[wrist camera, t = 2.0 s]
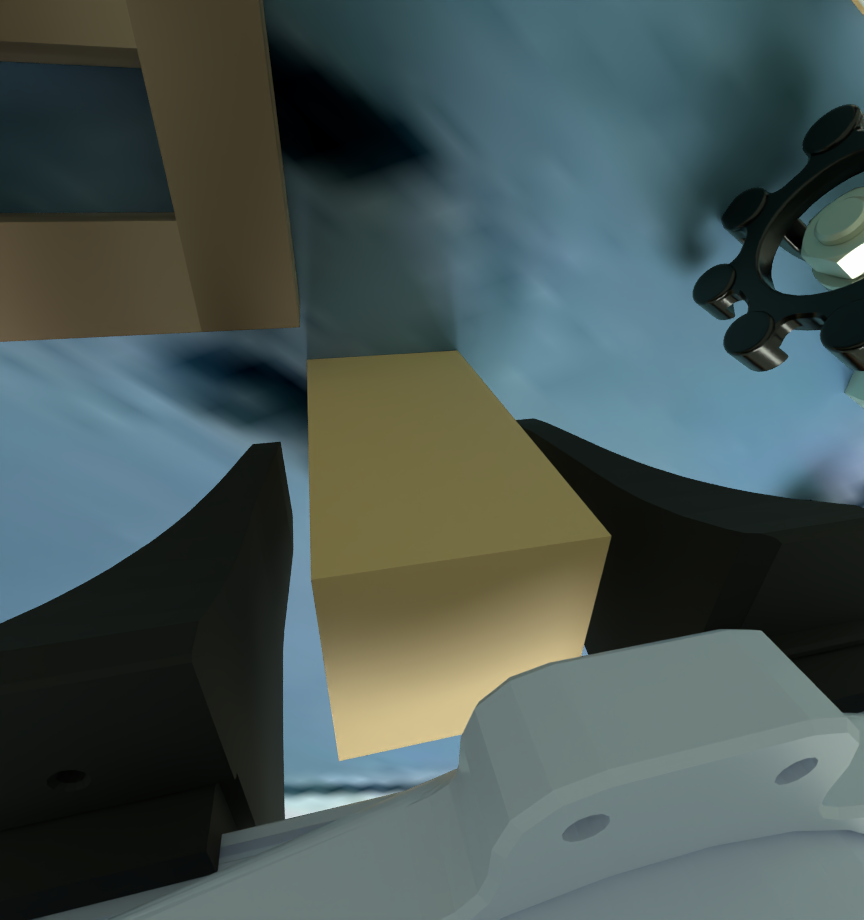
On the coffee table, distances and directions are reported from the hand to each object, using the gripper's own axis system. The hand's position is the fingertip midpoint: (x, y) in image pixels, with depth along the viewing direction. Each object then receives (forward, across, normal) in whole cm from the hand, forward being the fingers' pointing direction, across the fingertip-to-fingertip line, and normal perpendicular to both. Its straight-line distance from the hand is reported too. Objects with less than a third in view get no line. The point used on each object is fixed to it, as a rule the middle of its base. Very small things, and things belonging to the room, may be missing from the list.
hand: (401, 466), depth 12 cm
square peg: (+2, 0, 0) cm, 2 cm away
